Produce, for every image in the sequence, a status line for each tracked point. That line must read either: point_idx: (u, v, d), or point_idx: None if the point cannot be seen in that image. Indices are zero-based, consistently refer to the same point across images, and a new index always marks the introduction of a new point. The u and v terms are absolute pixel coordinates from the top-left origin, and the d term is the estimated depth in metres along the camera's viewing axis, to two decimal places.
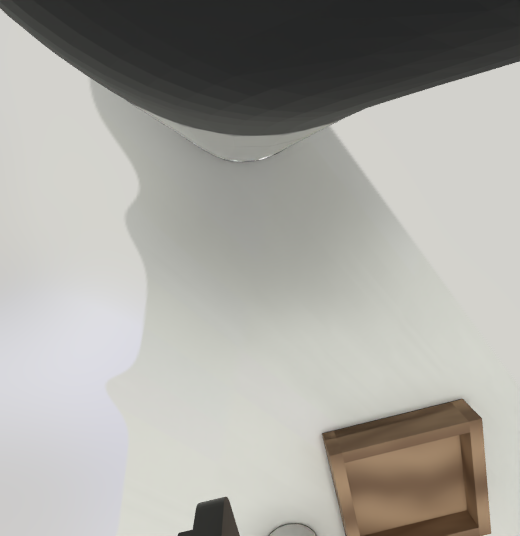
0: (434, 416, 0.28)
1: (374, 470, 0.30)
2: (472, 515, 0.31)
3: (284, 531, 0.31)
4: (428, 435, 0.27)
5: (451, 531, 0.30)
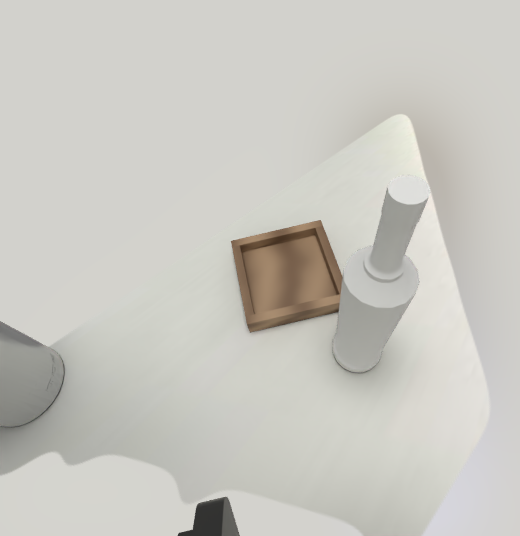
0: None
1: (277, 295, 0.43)
2: (312, 232, 0.46)
3: None
4: (238, 266, 0.44)
5: (320, 242, 0.44)
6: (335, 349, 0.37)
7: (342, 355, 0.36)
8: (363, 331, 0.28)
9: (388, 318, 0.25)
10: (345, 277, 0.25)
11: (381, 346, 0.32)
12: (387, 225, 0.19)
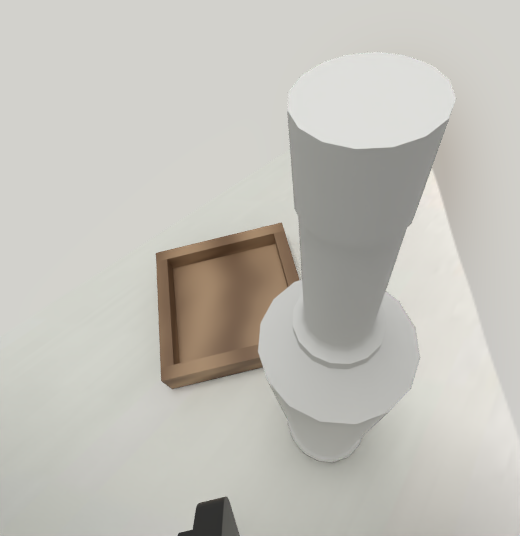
0: None
1: (215, 332, 0.29)
2: (270, 239, 0.33)
3: None
4: (161, 290, 0.30)
5: (279, 254, 0.31)
6: (291, 425, 0.24)
7: (299, 439, 0.22)
8: (314, 436, 0.14)
9: (354, 430, 0.12)
10: (261, 344, 0.12)
11: None
12: (310, 236, 0.06)
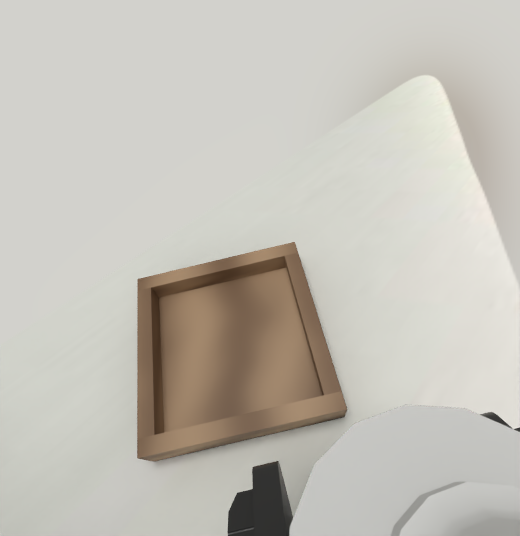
0: None
1: (210, 385, 0.23)
2: (280, 263, 0.26)
3: None
4: (142, 329, 0.24)
5: (292, 283, 0.25)
6: None
7: None
8: None
9: None
10: None
11: None
12: None
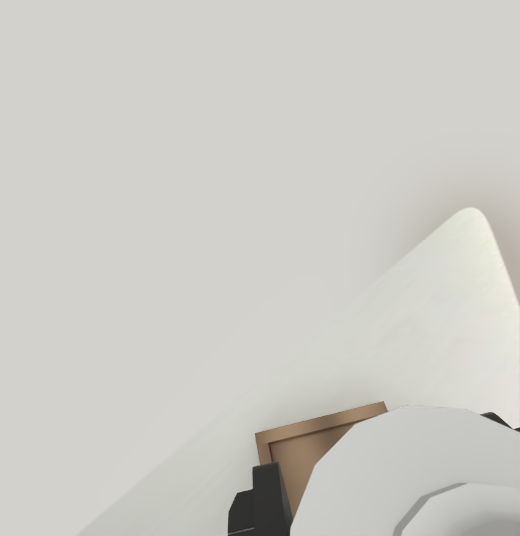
0: None
1: None
2: None
3: None
4: None
5: None
6: None
7: None
8: None
9: None
10: None
11: None
12: None
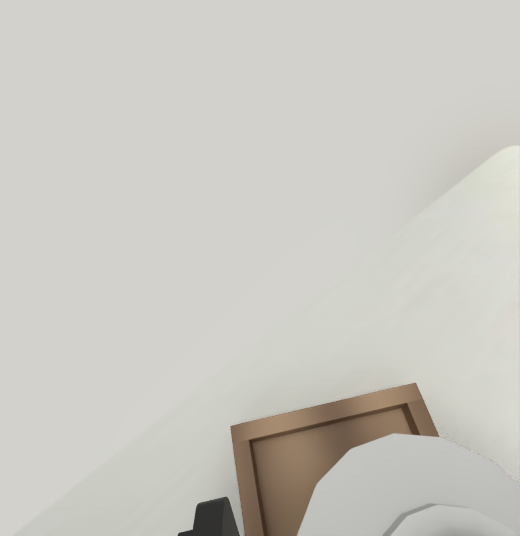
0: None
1: None
2: (398, 406, 0.22)
3: None
4: (247, 504, 0.20)
5: None
6: None
7: None
8: None
9: None
10: None
11: None
12: None
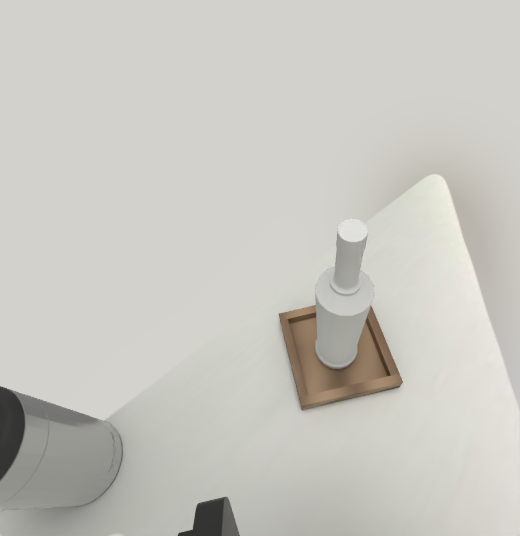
0: (284, 337, 0.47)
1: (327, 371, 0.44)
2: None
3: None
4: (288, 342, 0.45)
5: (367, 317, 0.46)
6: (317, 349, 0.44)
7: (322, 354, 0.42)
8: (334, 334, 0.34)
9: (351, 323, 0.32)
10: (316, 291, 0.32)
11: (352, 346, 0.38)
12: (340, 254, 0.26)
